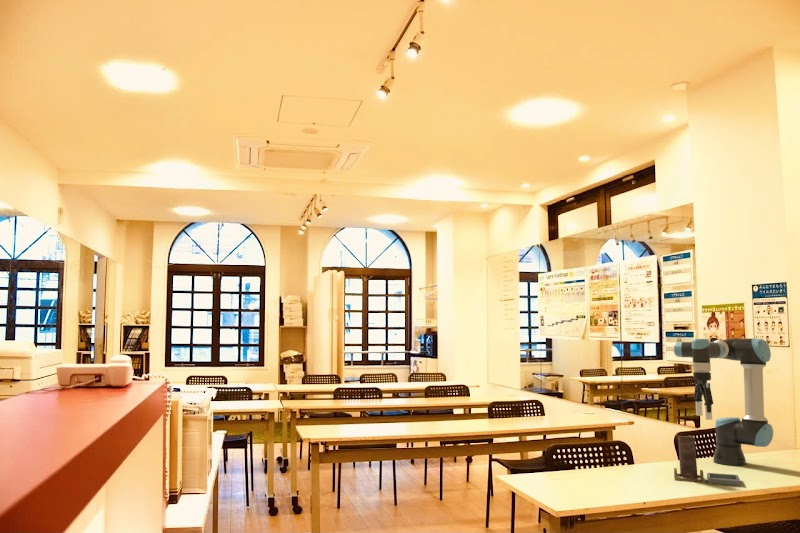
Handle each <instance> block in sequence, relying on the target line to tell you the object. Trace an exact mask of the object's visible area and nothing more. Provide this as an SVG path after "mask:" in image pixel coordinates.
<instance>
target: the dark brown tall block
mask: <svg viewBox="0 0 800 533" xmlns="http://www.w3.org/2000/svg"><path fill="white" fill-rule="evenodd" d="M677 437H678V438H677V441H678V455H679V474H680V475H681V476H680V478H688V479H699V478H698V475H699V474H698V466H697V452H696V451H697V450H696V440H695V439H696V438H695V436H693V435H691V434H690V435H678V436H677Z"/></svg>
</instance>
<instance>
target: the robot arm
mask: <svg viewBox="0 0 800 533" xmlns="http://www.w3.org/2000/svg"><path fill="white" fill-rule="evenodd" d="M673 354H674V355H675V356H676V357H678V358H692V364H691V367H692V371H694V372H693V373H692V376H693V380H694V381H695V382H694V385H695V386H694V393H693V399H694V401H695V415H696V416H699V417H700V416H701V417H703V415H705V416H704V418H705V421H710V420H713V407H712V406H713V405H714V400H713V395H712V390H711V384H710V382H708V381H711V380H712V372H711V370H712V368H711V367H712V366H711V359H719V360H720V359H724V360H728V361H729V360H730V361H738V362H739V361H740V362H739V363H740V366H741V367H742V368H743V386H744V387H743V388H744V390H743V391H744V415H743V416H742V417H741V418H740V417H733V416H732V417H719V418H716V420H715V424H714V425H715V426H714V428H715V442H716V444H715V445H716V447H715V450H714V453H713V459H712V460H713V462H714V463H716V464H720V465H723V466H724V465H725V466H745V465H747V459H746V457H745V454H744V451H743V449H742V445H746V446H752V447H753V446H754V447H757V448H759V447H763V448H767V447H768V446H769V445H770V444H771V442H772V441H773V437H774V428H773V426H772V424H770V423H769V422H768V421H769V420H768V419H767V417H765V405H764V404H765V399H764V398H765V396H764V372H763V370H764V368H765V367H766V366H767V363H768V362H770V360H771V357H772V354H771V348H770V345H769V344H768V342H767V341H766V340H765V339H763V338H755V337H754V338H737V337H735V338H726V339H722V340H721V339H717V340H715V341H710V340H709V339H708V338H693V339H692V341H678V342H675V344H674V345H673ZM703 400H704V403H703ZM703 406H704V414H703Z"/></svg>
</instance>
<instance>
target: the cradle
mask: <svg viewBox="0 0 800 533" xmlns="http://www.w3.org/2000/svg"><path fill="white" fill-rule="evenodd" d="M677 468H678V467H677ZM677 468H676V467H674V468H673V474H674V481H679V482H683V481H684V482H692V483H693V482H695V483H705V479H704V470H703V469H699V474H697V475H698V479H688V478H683V477H681V475H680V473H678V469H677Z"/></svg>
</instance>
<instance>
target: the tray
mask: <svg viewBox="0 0 800 533" xmlns="http://www.w3.org/2000/svg"><path fill="white" fill-rule="evenodd" d="M706 479H707V480H706V481H707V483H708V484H709V485H718V486H719V485H720V486H730V487H740V486H741V487H742V483H741V482H742V481H741V479H740V477H739V475H738V474H731V473H730V474H727V473H718V472H716V473H715V472H706Z"/></svg>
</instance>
